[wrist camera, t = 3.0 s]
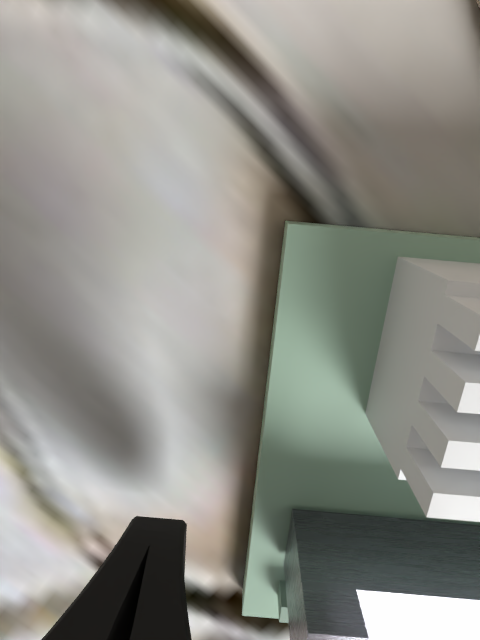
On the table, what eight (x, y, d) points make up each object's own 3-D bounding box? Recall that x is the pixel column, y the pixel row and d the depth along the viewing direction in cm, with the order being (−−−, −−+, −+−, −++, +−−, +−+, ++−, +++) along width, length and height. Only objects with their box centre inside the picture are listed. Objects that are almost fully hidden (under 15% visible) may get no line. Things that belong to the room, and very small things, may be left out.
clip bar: (283, 563, 12) (295, 698, 8) (292, 508, 11) (307, 633, 8) (595, 591, 12) (717, 735, 8) (621, 537, 11) (764, 672, 8)
